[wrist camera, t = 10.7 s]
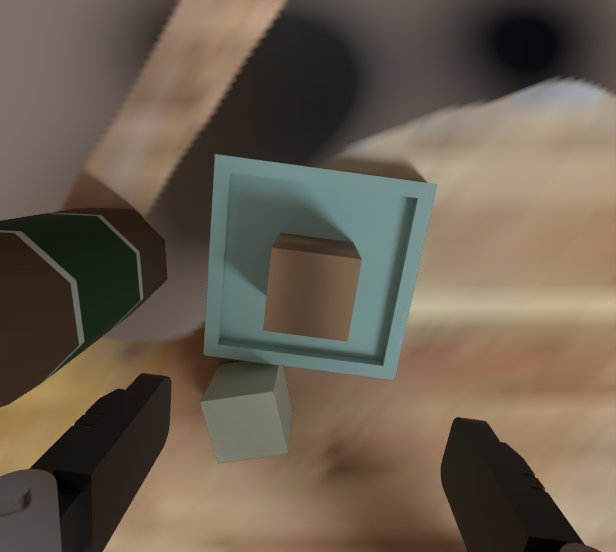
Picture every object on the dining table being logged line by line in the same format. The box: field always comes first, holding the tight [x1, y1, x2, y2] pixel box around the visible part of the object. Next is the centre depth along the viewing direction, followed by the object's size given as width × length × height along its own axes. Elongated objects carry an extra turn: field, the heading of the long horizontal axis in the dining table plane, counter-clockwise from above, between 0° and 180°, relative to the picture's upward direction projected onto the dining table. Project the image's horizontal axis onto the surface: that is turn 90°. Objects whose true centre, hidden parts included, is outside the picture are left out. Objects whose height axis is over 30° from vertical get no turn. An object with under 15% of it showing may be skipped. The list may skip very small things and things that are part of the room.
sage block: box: [200, 361, 293, 463], centre depth 28 cm, size 5×5×5 cm
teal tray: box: [203, 154, 437, 380], centre depth 26 cm, size 14×14×2 cm
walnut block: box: [263, 233, 362, 342], centre depth 24 cm, size 5×5×5 cm
